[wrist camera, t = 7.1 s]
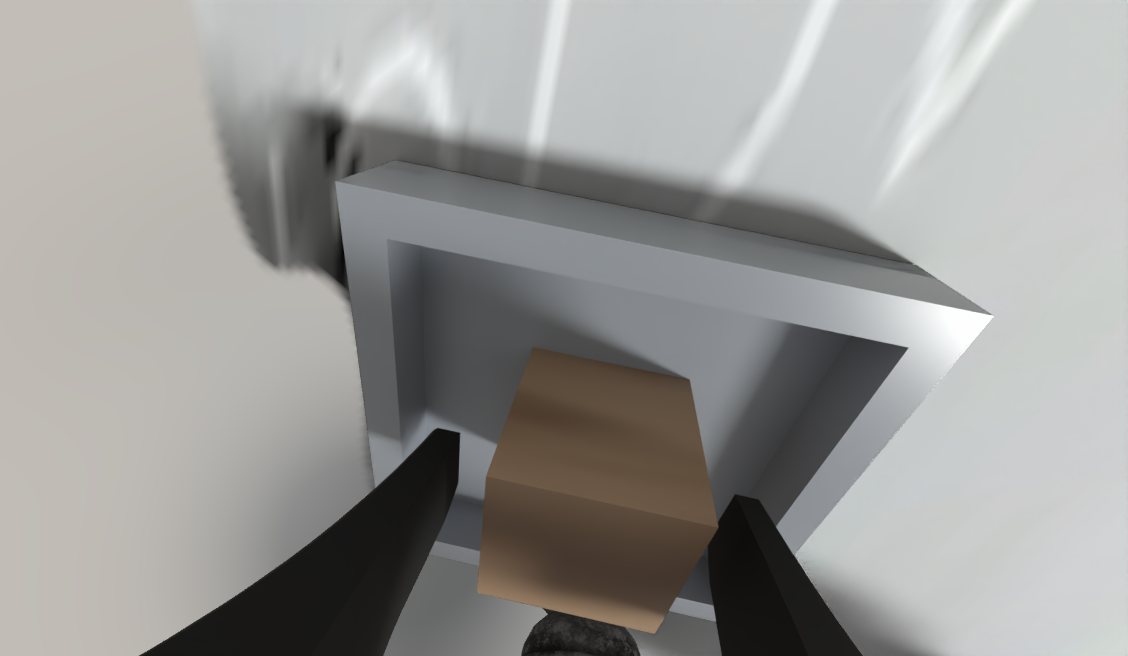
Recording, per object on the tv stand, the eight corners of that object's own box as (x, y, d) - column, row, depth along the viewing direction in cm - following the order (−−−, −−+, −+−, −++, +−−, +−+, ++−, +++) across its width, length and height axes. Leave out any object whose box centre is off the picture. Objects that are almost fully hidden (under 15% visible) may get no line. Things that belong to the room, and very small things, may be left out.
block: (648, 482, 14) (654, 633, 10) (518, 453, 14) (476, 592, 10) (689, 379, 12) (718, 527, 8) (533, 347, 12) (486, 476, 8)
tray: (721, 557, 17) (734, 626, 15) (413, 486, 17) (382, 543, 15) (916, 265, 10) (993, 315, 8) (395, 160, 10) (335, 180, 8)
